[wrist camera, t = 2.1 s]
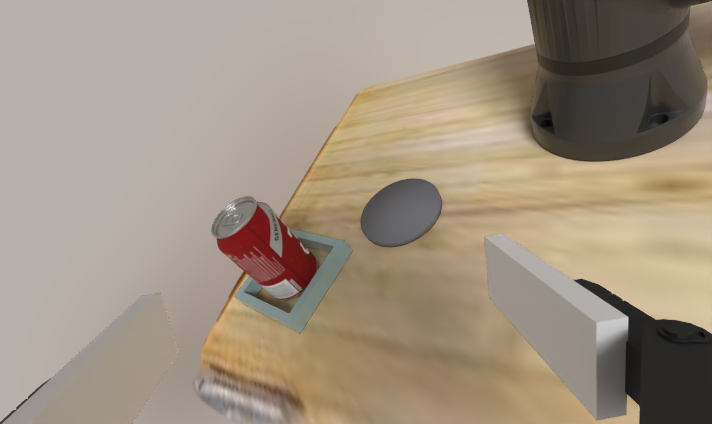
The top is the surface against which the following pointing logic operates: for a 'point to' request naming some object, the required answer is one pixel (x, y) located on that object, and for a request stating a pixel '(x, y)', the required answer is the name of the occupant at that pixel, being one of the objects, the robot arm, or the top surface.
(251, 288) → the holder
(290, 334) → the top surface
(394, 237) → the disc
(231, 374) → the top surface
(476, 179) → the top surface
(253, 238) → the soda can
